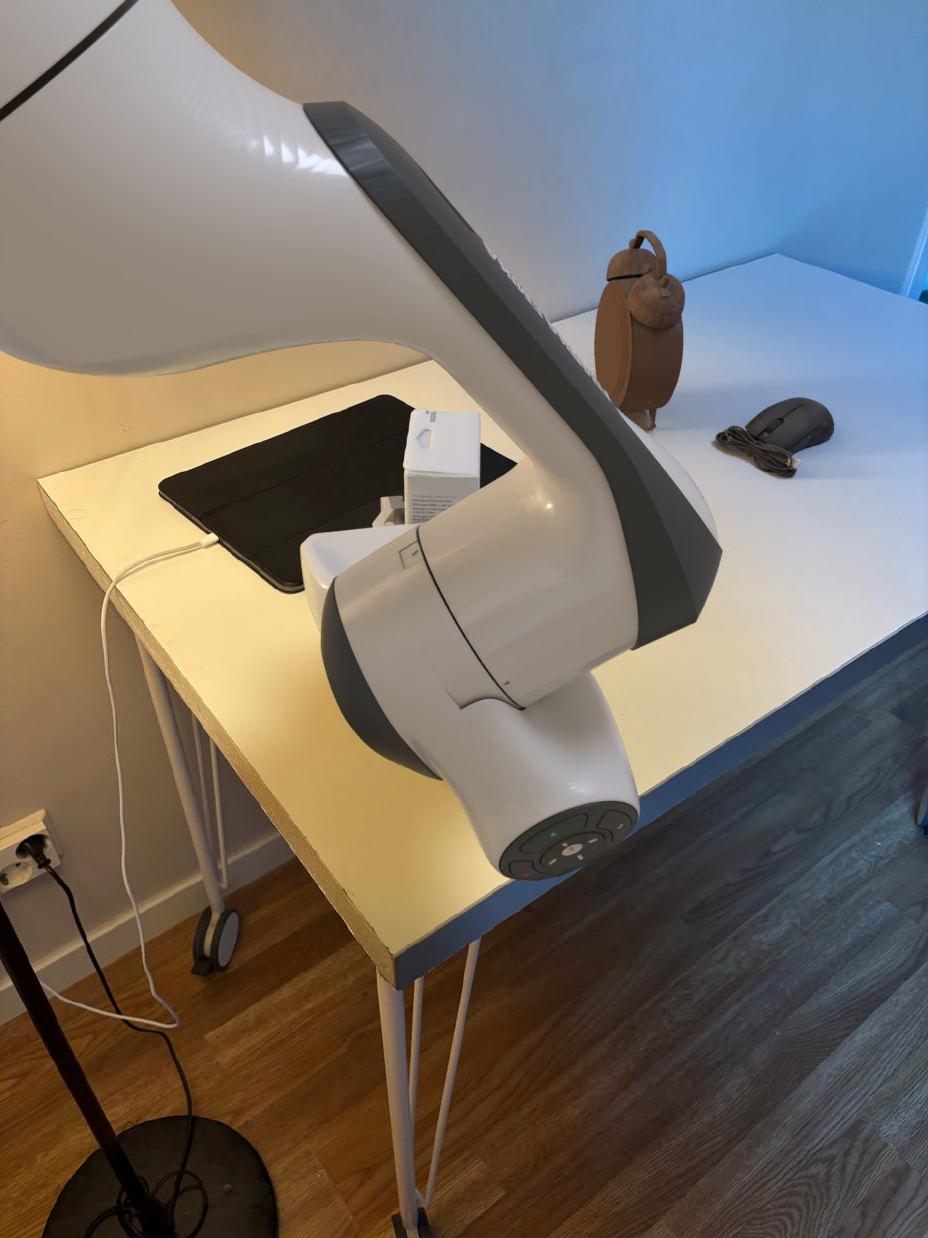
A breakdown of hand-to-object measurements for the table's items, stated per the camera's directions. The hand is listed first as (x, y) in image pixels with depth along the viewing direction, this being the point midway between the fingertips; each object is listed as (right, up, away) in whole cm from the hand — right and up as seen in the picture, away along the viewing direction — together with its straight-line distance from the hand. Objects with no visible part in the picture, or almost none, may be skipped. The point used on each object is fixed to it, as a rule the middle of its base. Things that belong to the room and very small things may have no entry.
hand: (439, 499), depth 66 cm
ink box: (0, -6, +4) cm, 7 cm away
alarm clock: (+21, +16, +46) cm, 53 cm away
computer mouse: (+38, +12, +41) cm, 57 cm away
